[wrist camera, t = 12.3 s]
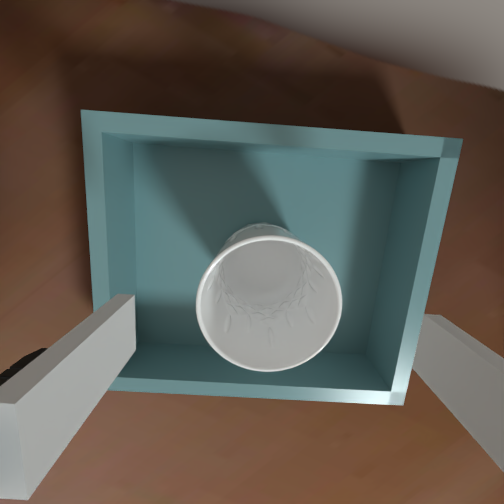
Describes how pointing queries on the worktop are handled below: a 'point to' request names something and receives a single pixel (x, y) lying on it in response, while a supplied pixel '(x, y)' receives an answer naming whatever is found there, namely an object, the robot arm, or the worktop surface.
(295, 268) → the white cup
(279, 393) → the walled box
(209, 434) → the worktop surface
